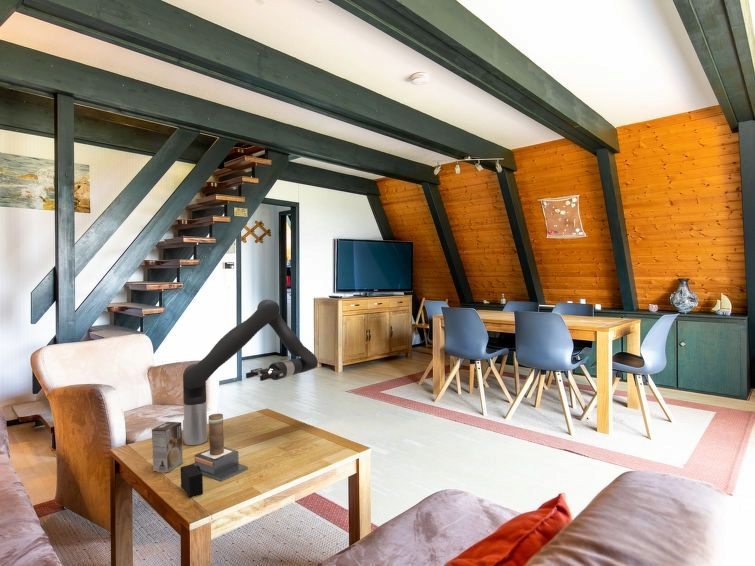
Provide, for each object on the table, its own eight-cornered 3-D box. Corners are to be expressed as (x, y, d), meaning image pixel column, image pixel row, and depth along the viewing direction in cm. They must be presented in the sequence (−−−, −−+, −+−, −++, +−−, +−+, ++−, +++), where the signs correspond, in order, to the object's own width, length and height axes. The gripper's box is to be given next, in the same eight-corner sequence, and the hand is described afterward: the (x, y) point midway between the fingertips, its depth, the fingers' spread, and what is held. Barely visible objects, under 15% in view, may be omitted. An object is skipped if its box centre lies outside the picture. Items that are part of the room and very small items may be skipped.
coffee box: (168, 461, 182) (167, 421, 181) (183, 463, 180) (182, 421, 180) (152, 472, 173) (151, 429, 172) (167, 473, 171) (166, 430, 171)
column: (206, 453, 174) (205, 416, 173) (218, 448, 178) (217, 412, 178) (215, 456, 171) (214, 418, 170) (227, 451, 175) (226, 414, 175)
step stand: (186, 468, 175) (186, 452, 175) (213, 457, 185) (213, 442, 185) (221, 481, 164) (220, 464, 164) (247, 469, 174) (247, 452, 174)
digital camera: (206, 493, 156) (206, 472, 156) (190, 498, 153) (189, 477, 152) (197, 482, 164) (196, 462, 164) (181, 486, 161) (180, 466, 161)
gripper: (270, 359, 210) (241, 366, 197) (293, 362, 202) (265, 370, 189) (270, 376, 211) (241, 383, 197) (293, 380, 203) (265, 388, 189)
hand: (253, 377), depth 193 cm, fingers open, 8 cm apart
